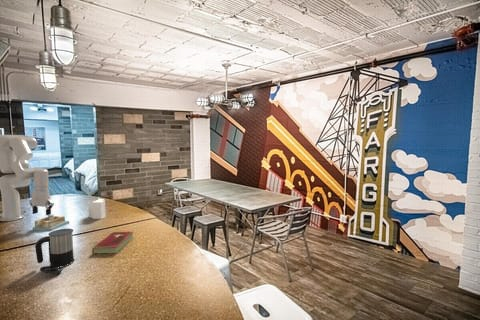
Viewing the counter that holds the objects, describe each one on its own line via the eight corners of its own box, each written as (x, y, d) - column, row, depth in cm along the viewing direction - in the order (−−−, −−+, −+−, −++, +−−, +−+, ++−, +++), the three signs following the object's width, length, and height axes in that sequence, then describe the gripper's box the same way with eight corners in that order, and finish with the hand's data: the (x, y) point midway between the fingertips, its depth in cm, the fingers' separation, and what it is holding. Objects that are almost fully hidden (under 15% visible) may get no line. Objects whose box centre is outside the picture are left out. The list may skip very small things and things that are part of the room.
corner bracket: (101, 218, 179) (100, 202, 178) (86, 218, 179) (85, 202, 178) (109, 214, 190) (108, 198, 189) (94, 214, 190) (94, 198, 189)
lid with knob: (32, 229, 157) (31, 218, 157) (51, 222, 171) (51, 211, 170) (51, 230, 156) (50, 218, 155) (69, 223, 170) (68, 212, 169)
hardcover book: (92, 255, 123) (91, 246, 123) (112, 238, 144) (112, 231, 144) (117, 254, 124) (116, 246, 123) (133, 238, 144) (133, 231, 144)
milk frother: (71, 256, 121) (69, 226, 120) (83, 267, 111) (81, 234, 110) (33, 268, 110) (31, 235, 109) (43, 281, 100) (40, 245, 99)
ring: (35, 226, 158) (34, 221, 158) (49, 221, 169) (49, 216, 169) (50, 227, 157) (50, 221, 157) (64, 221, 168) (64, 216, 168)
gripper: (23, 188, 159) (24, 214, 161) (48, 190, 157) (48, 217, 159) (34, 185, 167) (35, 211, 169) (58, 188, 165) (58, 213, 167)
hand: (41, 213), depth 164 cm, fingers open, 9 cm apart
